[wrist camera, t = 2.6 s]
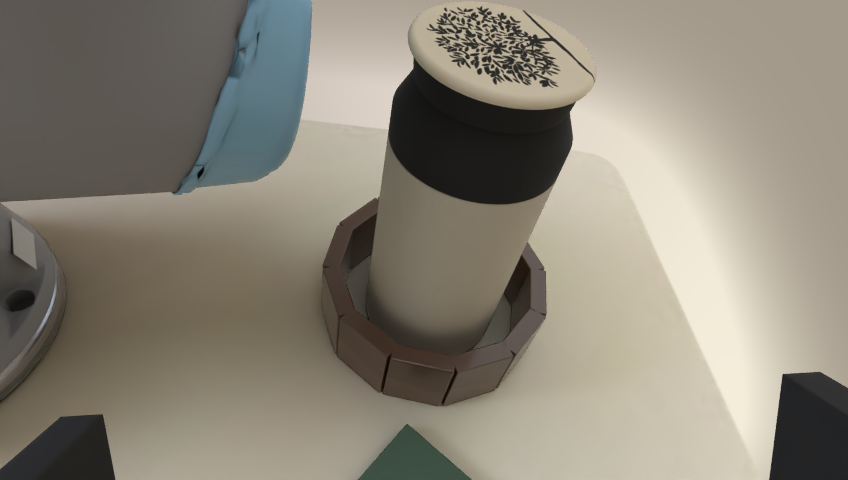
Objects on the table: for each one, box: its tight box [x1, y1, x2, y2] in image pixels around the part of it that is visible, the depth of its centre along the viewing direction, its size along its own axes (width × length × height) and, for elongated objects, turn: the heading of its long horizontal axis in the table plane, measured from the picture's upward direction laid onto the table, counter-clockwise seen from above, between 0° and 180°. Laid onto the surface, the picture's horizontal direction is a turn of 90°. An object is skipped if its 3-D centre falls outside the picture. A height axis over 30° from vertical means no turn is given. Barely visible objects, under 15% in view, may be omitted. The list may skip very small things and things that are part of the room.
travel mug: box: [366, 1, 596, 356], centre depth 27 cm, size 8×8×18 cm
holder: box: [322, 197, 547, 406], centre depth 32 cm, size 13×13×4 cm
